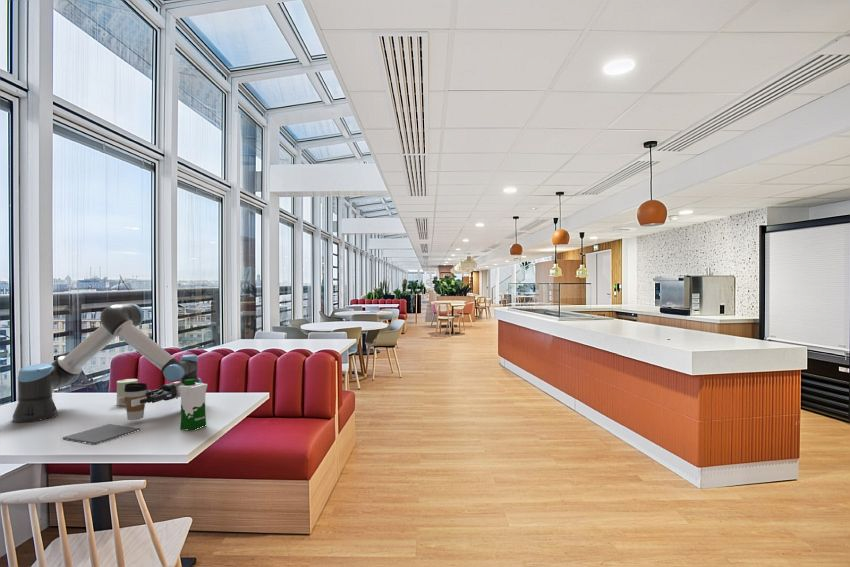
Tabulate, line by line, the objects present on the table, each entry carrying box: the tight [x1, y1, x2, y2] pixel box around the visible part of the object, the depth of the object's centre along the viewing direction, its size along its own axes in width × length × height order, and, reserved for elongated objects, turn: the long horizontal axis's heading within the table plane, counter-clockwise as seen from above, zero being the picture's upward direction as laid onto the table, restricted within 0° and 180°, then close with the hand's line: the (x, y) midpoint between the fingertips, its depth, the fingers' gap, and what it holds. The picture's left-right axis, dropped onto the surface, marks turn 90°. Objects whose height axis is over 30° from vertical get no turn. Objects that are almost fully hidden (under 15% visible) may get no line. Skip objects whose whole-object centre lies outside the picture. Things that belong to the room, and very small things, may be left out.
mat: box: [62, 423, 141, 445], centre depth 178 cm, size 18×18×1 cm
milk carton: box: [179, 379, 208, 431], centre depth 187 cm, size 9×9×20 cm
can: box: [116, 378, 139, 406], centre depth 227 cm, size 9×9×12 cm
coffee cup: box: [124, 382, 148, 421], centre depth 194 cm, size 8×8×15 cm
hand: (124, 402), depth 190 cm, fingers closed on coffee cup, 7 cm apart
